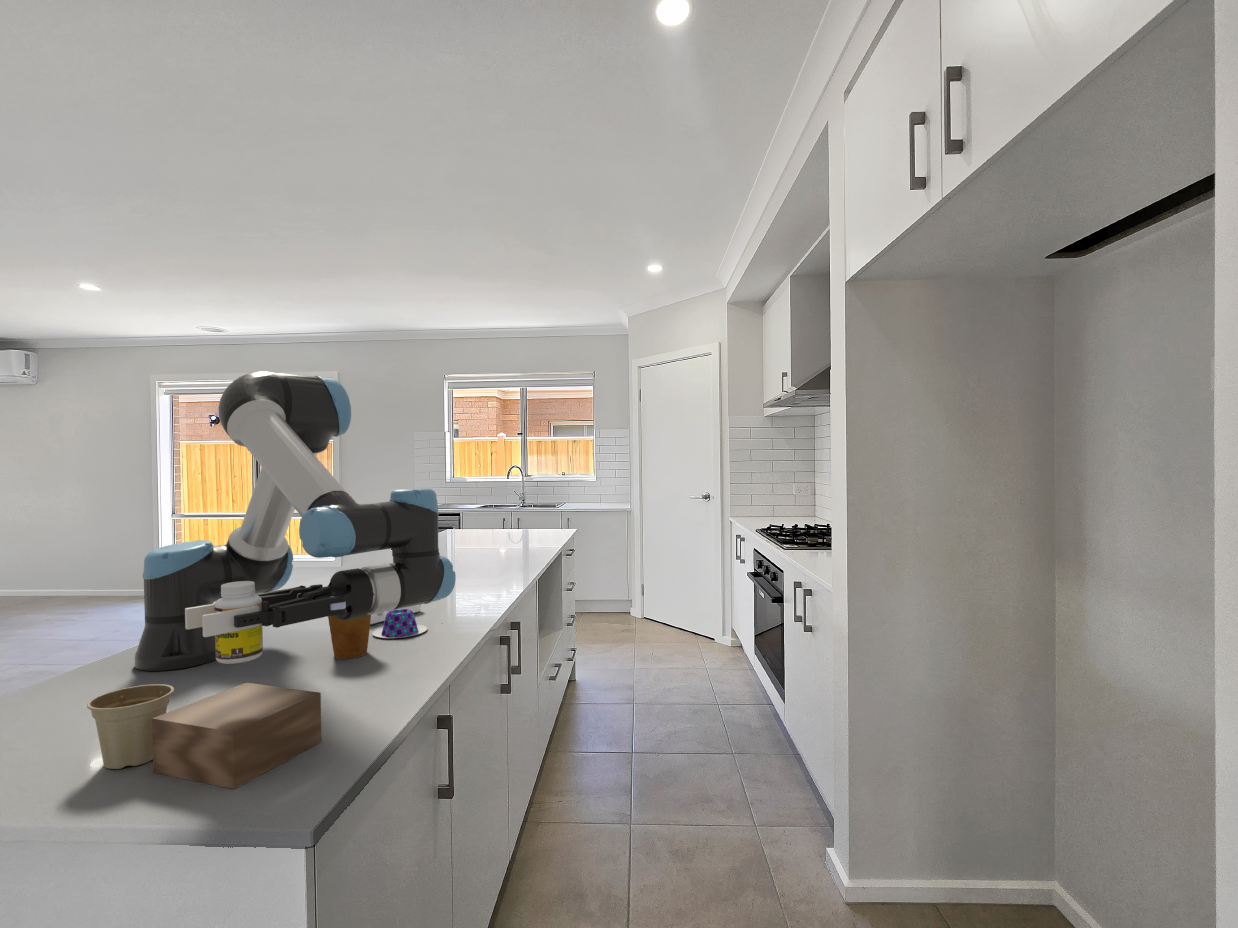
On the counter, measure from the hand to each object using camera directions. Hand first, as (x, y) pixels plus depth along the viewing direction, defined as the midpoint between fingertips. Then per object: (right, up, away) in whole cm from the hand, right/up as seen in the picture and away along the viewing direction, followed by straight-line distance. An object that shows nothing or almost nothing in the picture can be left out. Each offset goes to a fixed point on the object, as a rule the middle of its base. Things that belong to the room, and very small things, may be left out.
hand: (195, 622), depth 85 cm
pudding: (+4, -19, +67) cm, 69 cm away
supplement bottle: (+3, -6, +4) cm, 8 cm away
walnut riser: (+4, -19, +4) cm, 20 cm away
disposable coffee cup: (0, -19, +50) cm, 54 cm away
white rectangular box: (-5, -19, +80) cm, 82 cm away
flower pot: (-11, -20, +4) cm, 23 cm away
